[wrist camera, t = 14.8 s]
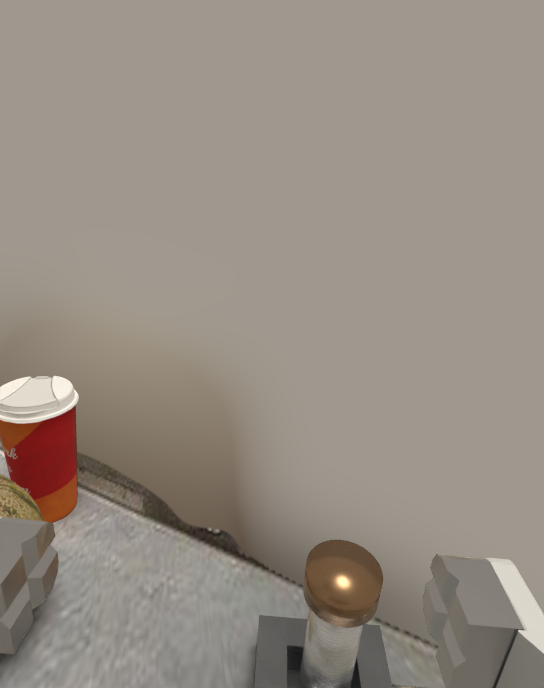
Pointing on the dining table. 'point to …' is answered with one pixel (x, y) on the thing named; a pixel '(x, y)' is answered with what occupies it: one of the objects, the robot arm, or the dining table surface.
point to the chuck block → (287, 651)
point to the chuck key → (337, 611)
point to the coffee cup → (41, 441)
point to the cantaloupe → (17, 502)
